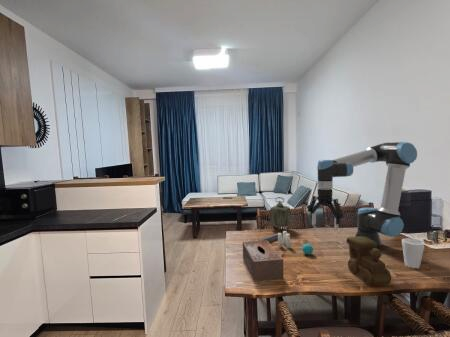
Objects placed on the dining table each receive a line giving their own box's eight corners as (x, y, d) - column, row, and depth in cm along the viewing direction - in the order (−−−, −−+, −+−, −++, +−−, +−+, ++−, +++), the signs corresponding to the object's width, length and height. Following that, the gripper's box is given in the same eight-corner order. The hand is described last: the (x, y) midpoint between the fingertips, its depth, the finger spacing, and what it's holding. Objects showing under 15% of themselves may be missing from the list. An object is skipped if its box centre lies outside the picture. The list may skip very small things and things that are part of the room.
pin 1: (282, 246, 164) (282, 233, 163) (280, 247, 162) (280, 234, 162) (279, 245, 166) (279, 232, 165) (277, 246, 164) (277, 233, 164)
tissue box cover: (243, 259, 148) (242, 242, 147) (267, 257, 150) (267, 240, 149) (254, 282, 122) (253, 261, 122) (283, 279, 124) (283, 259, 124)
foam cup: (419, 262, 137) (420, 239, 136) (426, 271, 128) (427, 245, 127) (398, 260, 140) (399, 237, 139) (404, 268, 131) (405, 243, 130)
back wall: (280, 237, 179) (280, 233, 179) (260, 245, 167) (260, 240, 167) (278, 237, 181) (278, 233, 181) (258, 244, 168) (258, 240, 168)
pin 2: (287, 244, 167) (287, 231, 166) (285, 245, 165) (285, 232, 165) (284, 243, 169) (284, 230, 168) (282, 244, 167) (282, 231, 167)
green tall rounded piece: (291, 229, 197) (290, 197, 195) (287, 232, 190) (286, 199, 188) (273, 226, 205) (272, 195, 203) (268, 229, 198) (268, 197, 195)
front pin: (290, 247, 162) (290, 234, 161) (288, 248, 161) (288, 235, 160) (287, 246, 164) (287, 233, 163) (285, 247, 162) (285, 234, 162)
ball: (315, 254, 151) (315, 244, 150) (309, 257, 147) (309, 247, 147) (306, 251, 156) (306, 241, 155) (300, 254, 152) (300, 244, 151)
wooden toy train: (344, 268, 133) (344, 237, 132) (365, 266, 134) (365, 235, 133) (370, 289, 113) (371, 252, 112) (394, 287, 114) (395, 251, 113)
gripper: (301, 186, 147) (301, 223, 149) (343, 192, 128) (343, 234, 130) (309, 185, 152) (308, 221, 154) (351, 190, 133) (350, 231, 134)
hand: (324, 227), depth 142 cm, fingers open, 12 cm apart
